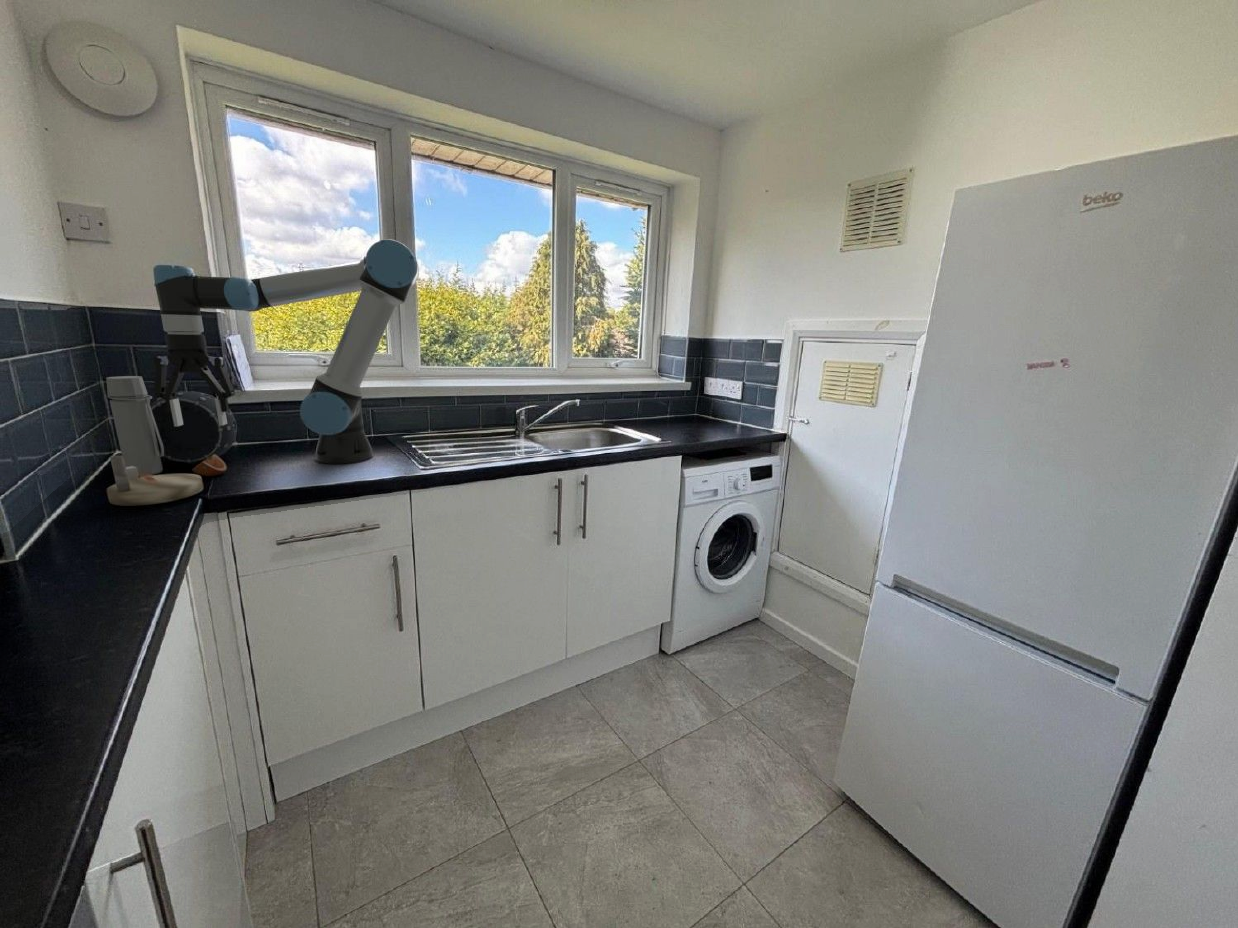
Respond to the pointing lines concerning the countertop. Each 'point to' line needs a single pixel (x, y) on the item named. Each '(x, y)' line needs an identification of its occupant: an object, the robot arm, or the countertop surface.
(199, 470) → the fruit slice
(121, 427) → the water bottle
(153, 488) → the beige round piece
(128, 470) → the grey rectangular block
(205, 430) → the grey dotted bowl
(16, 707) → the countertop surface
